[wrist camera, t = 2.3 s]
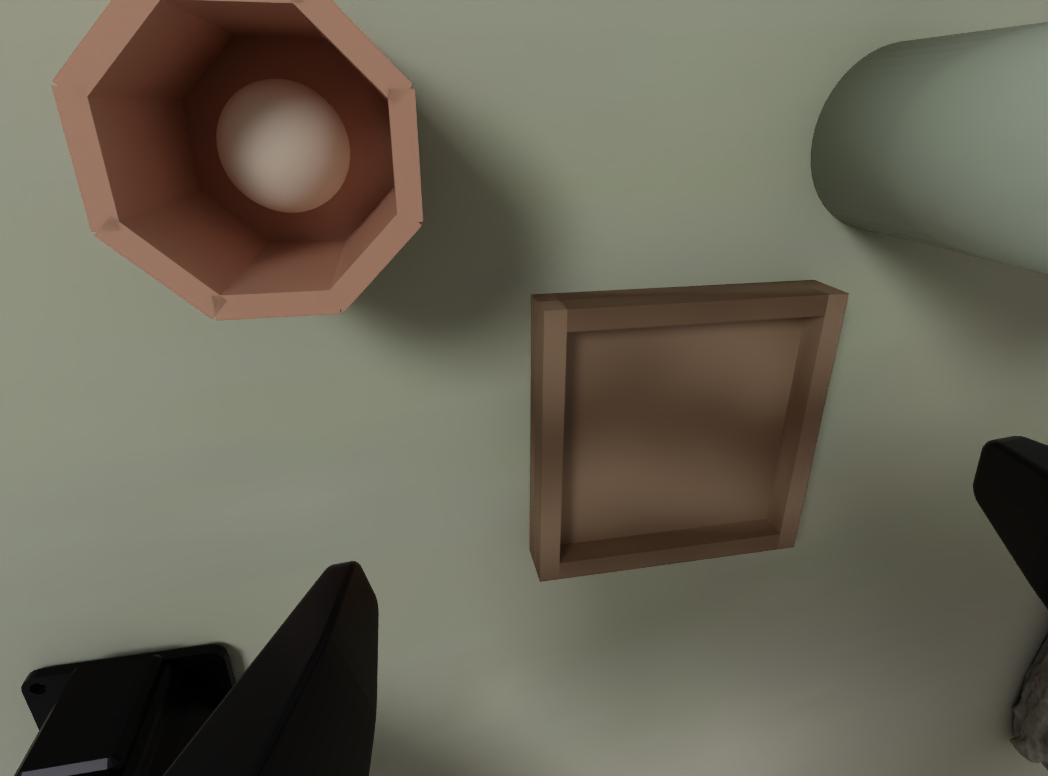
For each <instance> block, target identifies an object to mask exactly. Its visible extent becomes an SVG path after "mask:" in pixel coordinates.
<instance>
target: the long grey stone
mask: <svg viewBox="0 0 1048 776" xmlns="http://www.w3.org/2000/svg"><path fill="white" fill-rule="evenodd" d="M1012 710H1013V712H1014V714H1015V717H1014V719H1013V721H1014V722H1013V737H1014V738H1011V739H1010V741H1011V743H1012V744H1013V746H1014V747H1015V749H1016V750H1017V751H1018V752H1019V753H1020V754H1021V755H1022V756H1024V757H1025V758H1026V759H1027V760H1029V761H1030V762H1034V763H1040V762H1041V763H1042V764H1043V765H1044V766H1045V767H1046V769H1047V770H1048V636H1047V638H1046V641H1045V642H1044V644H1043V645H1042V647H1041V649H1040V650H1039V651H1038V653H1037V655H1036V658H1035V660H1034V663H1032V664H1031V665H1030V667H1029V669H1028V670H1027V672H1026V673H1025V680H1024V686H1023V690H1022V693H1021V699H1020V700H1019V701H1018V704H1017V705H1016V706H1014V707H1013V709H1012Z"/></svg>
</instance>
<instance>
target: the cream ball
mask: <svg viewBox="0 0 1048 776" xmlns="http://www.w3.org/2000/svg"><path fill="white" fill-rule="evenodd" d="M216 142H217V150H218V154H219V158H220V161H221V163H222V166H223V168H224V170H225V172H226V174H227V175H228V177H229V178H230V180H231V181H232V183H233V184H234V185H235V186H236V187H237V188H238V189H239V190H240V191H241V192H242V193H243V194H244V195H245V196H247V197H248V198H249V199H251V200H252V201H254V202H256V203H257V204H259V205H261V206H264V207H266V208H268V209H272V210H275V211H280V212H287V213H296V212H304V211H308V210H312V209H314V208H317V207H319V206H321V205H322V204H324V203H326V202H327V201H328V200H330V199H331V198H332V197H333V196H334V195H335V194H336V193H337V192H338V190H339V189H340V188H341V186H342V184H343V182H344V181H345V178H346V175H347V173H348V169H349V164H350V145H349V139H348V136H347V132H346V129H345V127H344V125H343V122H342V121H341V119H340V117H339V115H338V114H337V112H336V111H335V110H334V108H333V107H332V106H331V105H330V104H329V103H328V102H327V101H326V100H325V99H324V98H323V97H322V96H321V95H320V94H318V93H317V92H315V91H314V90H312V89H311V88H309V87H307V86H305V85H303V84H300V83H297V82H294V81H290V80H286V79H265V80H260V81H256V82H253V83H251V84H248V85H246V86H245V87H243V88H241V89H240V90H239V91H237V92H236V93H235V94H234V95H233V96H232V97H231V98H230V99H229V100H228V102H227V103H226V105H225V106H224V108H223V110H222V112H221V114H220V118H219V121H218V125H217V132H216Z"/></svg>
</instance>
